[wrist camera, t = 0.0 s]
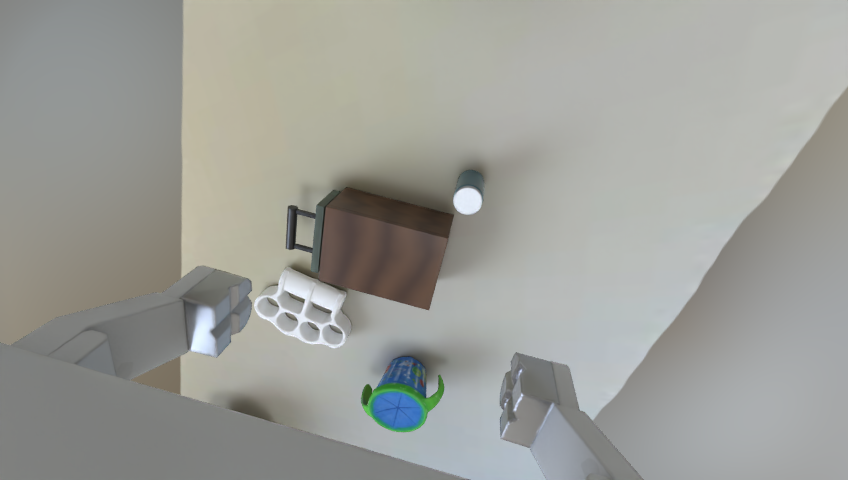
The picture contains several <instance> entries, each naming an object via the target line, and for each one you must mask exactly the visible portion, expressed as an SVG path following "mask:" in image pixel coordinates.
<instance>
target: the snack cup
mask: <svg viewBox="0 0 848 480" xmlns="http://www.w3.org/2000/svg"><path fill="white" fill-rule="evenodd" d="M438 377H439V383H438V385H439V388H438V391H437V392H436V393H435V394H433V395H432V396H431V397H429V398H426V370H425V367H424V366H423V365H422V364H421V363H420V362H419V361H417V360H415V359H413V358H412V357H400V358H397V359H394V360H393V361H392V362H391V363H390V365H389V366H388V368H387V370H386V371H385V373H384V375H383V377H382V379H381V381H380V382H379V384H378V386H377V388H376V389H374V391H373V393H372V388H371V386H370V385H369V384H367V385H366V386H365V387H364V389H363V392H362V397H361V403H362V406H363V408H364V410H365V412H366V413H367V414H368V415H369V416H371V417H372V418H373V419H374V420H375V421H376V422H377V423H378V424H379V425H381V426H382V427H384V428H386V429H389V430H392V431H396V432H410V431H414V430H416V429H418V428H420V427H421V426H422V425H423V424H424V422H425V421H426V418H427V413H428V412H429V411H430V410H431V409H433V408H434V407H435V406H436V405H437V404H438V402H439V401H440V399H441V397H442V395H443V392H444V384H443V380H442V378H441V376H440V375H438ZM369 398H370V399H369ZM368 401H369V403H368ZM367 404H368V405H367Z"/></svg>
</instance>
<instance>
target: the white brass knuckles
mask: <svg viewBox="0 0 848 480" xmlns="http://www.w3.org/2000/svg"><path fill="white" fill-rule="evenodd" d="M288 292H289V293H292V294H294V295H296V296H299V297H301V298H303V299H305V302H304V303H302V302H300V301H298V300H296V299H293V298H291V297H290V295H289V293H288ZM346 295H347V293H346V292H345V291H343V290H342V291H341V290H339V289H336V288H334V287H332V286H330V285H327V284H325V283H323V282H320V281H319V280H318V279H314V278H311V277H309V276H307V275H304V274H302V273H300V272H298V271H295V270H293V269H292V268H290V267H286V268H285V269H284V271H283V273H282V275H281V277H280V280H279V284H278V286H270V287H268V288H266V289H265V290H264V291H263V292H262V293H261V294H260V295H259V297H258V298H257V299H256V301H255V310H256V312H257V314H258V315H259V316H260V317H261V318H262V319H266V320H269V321H270V322H272V323H273V324H274V325H275V326H276V327H277V328H278V330H280V331H281V332H283V333H284V334H286V335H290V336H294V337H297V338H298V339H300V340H301V341H302V342H304V343H309V344H316V343H320V344H324V345H327V346H329V347H330V348H338V347H341V346H342V345H343V344H344V343H345V342H346V340H347V338H348V336H349V334H350V332H351V328H352V326H351V322H350V320H349V318H348V317H347V316H346V315H344V314H343V313H342V310H341V308H342V305H343V303H344V301H345V298H346ZM267 297H269V298H272V299H274V300H275V301H276V302H277V303H278V305H279V307H277V306H274V305H272V304H271V303H269V301H268V300H267ZM312 303H315V304H317V305H320V306H322V307H324V308H327V309H329V310H331V311H332V312H331V313H326V312H323V311H321V310H319V309H316V308H315V307H313V305H312ZM285 312H288V313H291V314H293V315H294V316H295V317H296V318H297V320H298V321H294V320H291V319H290V318H288V317H287V315H286V314H285ZM308 322H312V323H314V324H315V325H316V326H317V327H318V328H319V330H315V329H313V328H311V327H310V326H309V324H308ZM329 325H334V326H337V327H338V328H339V329H340V330H341V331H342V333H336V332H334V331H333V330H332V329H331V328H330V326H329Z"/></svg>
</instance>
